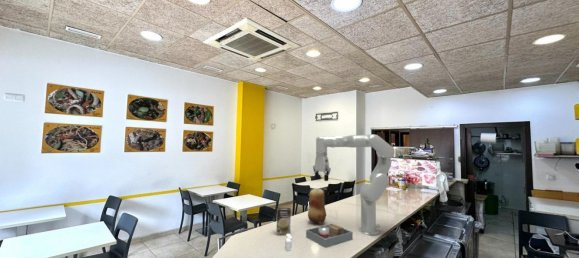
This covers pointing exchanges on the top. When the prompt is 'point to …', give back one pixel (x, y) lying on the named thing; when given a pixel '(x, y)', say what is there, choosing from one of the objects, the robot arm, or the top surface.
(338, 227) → the brown block
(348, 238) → the crate
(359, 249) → the top surface
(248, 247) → the top surface
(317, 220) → the butternut squash
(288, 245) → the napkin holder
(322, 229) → the can
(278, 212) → the coffee box
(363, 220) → the robot arm
